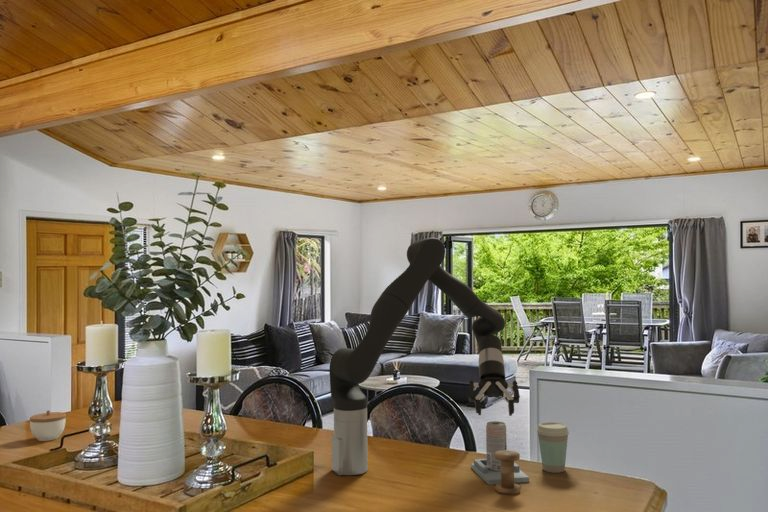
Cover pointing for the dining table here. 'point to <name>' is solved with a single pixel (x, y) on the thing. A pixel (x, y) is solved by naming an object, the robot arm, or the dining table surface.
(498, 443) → the energy drink
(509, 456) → the bobbin
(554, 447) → the coffee cup
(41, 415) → the lidded jar
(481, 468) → the notched board
